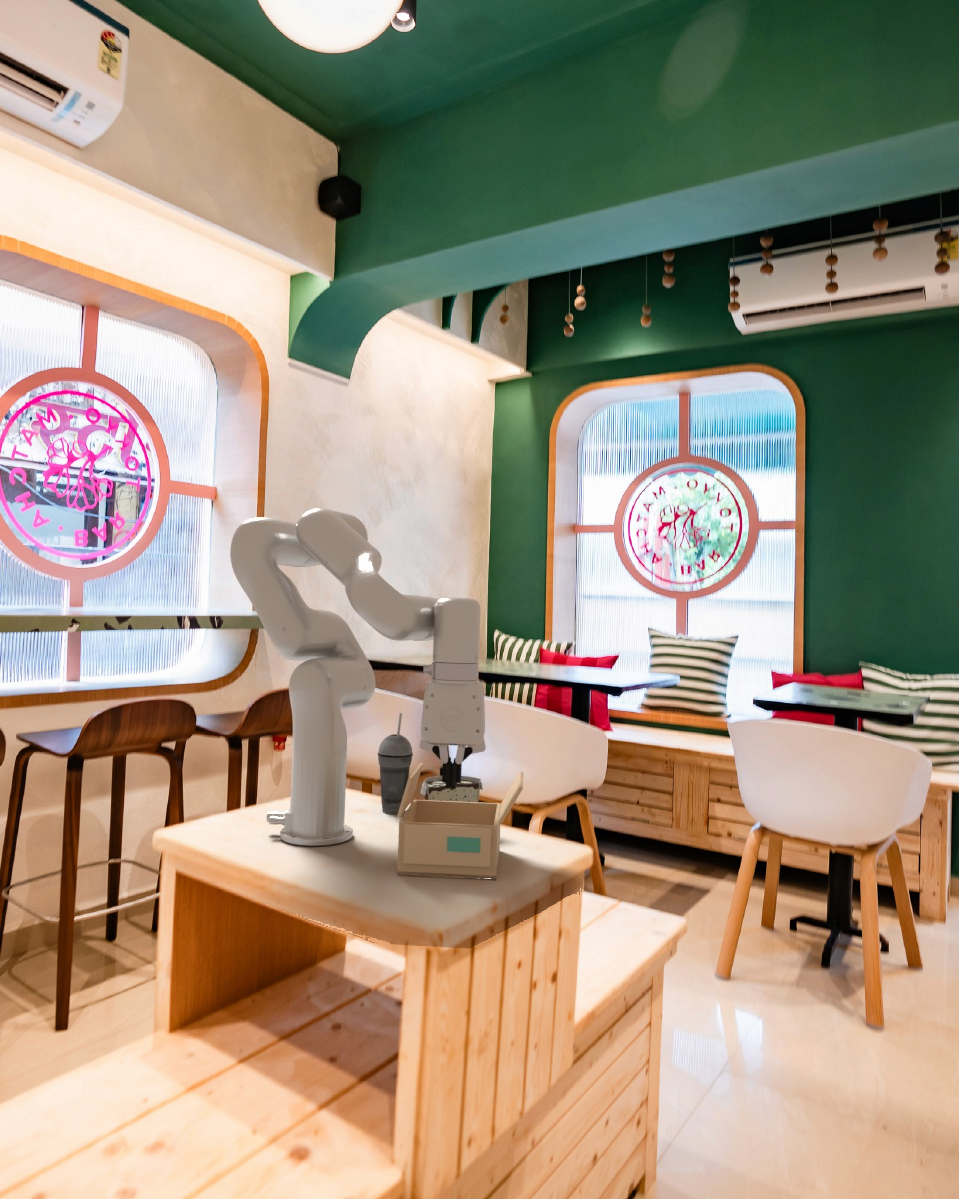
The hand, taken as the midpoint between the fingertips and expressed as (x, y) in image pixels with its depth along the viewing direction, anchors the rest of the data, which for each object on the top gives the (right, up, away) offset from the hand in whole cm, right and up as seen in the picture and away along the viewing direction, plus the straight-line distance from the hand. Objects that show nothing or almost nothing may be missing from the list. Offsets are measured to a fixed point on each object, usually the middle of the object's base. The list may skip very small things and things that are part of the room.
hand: (451, 787), depth 129 cm
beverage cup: (-13, -13, +33) cm, 38 cm away
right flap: (+10, -1, -1) cm, 10 cm away
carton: (0, -12, -1) cm, 12 cm away
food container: (-2, -13, +18) cm, 22 cm away
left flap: (-6, 0, 0) cm, 6 cm away
